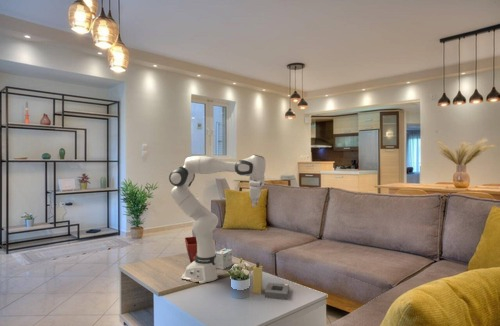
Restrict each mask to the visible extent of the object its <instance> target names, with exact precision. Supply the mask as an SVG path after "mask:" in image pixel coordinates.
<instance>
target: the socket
mask: <svg viewBox="0 0 500 326" xmlns="http://www.w3.org/2000/svg"><path fill="white" fill-rule="evenodd" d="M289 292H290V284H289V283H288V284H287V283H285V284H284V283H278V282H276V283H274V282H267V285H266V287H265V289H264V298H267V299H268V298H269V299H277V300H286V301H287V300H288V298H289Z"/></svg>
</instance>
